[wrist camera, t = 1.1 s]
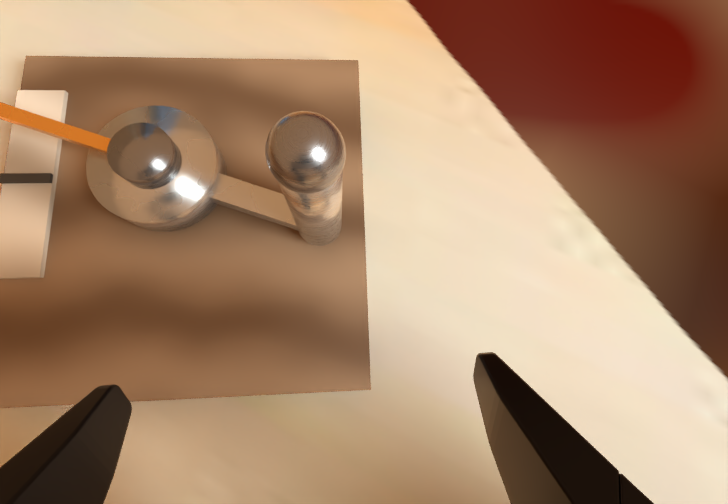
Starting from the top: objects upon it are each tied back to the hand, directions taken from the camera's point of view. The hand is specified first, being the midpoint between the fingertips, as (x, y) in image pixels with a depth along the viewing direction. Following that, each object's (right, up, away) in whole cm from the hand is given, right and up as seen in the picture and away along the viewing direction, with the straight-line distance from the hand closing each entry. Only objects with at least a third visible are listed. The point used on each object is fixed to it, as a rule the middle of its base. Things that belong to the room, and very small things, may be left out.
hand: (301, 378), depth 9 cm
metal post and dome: (-8, +7, +12) cm, 16 cm away
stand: (-8, +5, +14) cm, 17 cm away
